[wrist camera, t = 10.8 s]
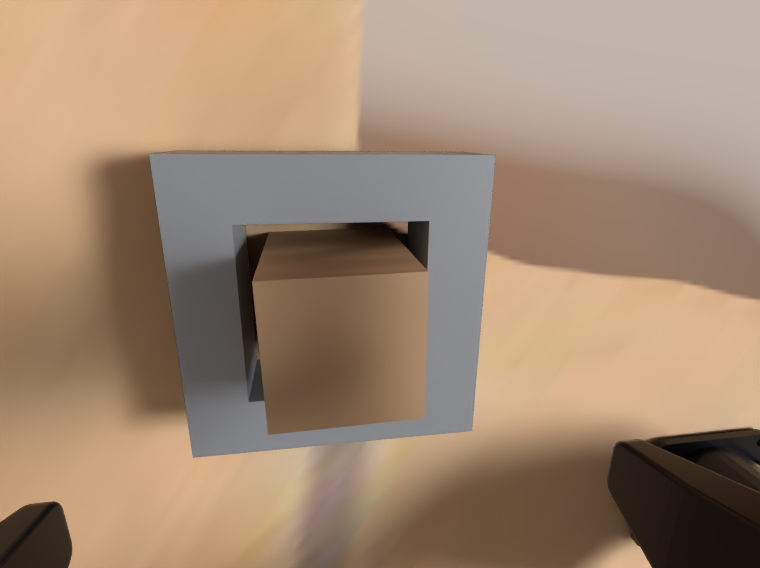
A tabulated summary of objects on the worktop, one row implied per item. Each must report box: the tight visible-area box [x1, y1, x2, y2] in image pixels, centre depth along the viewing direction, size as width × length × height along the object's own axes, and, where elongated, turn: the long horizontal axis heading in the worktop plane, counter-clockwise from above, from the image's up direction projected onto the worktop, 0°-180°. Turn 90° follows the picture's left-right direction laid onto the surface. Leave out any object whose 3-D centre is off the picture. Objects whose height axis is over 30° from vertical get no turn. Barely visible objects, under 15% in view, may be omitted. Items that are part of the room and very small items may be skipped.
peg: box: [252, 227, 428, 435], centre depth 15 cm, size 4×4×6 cm
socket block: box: [149, 151, 495, 458], centre depth 16 cm, size 10×10×3 cm
